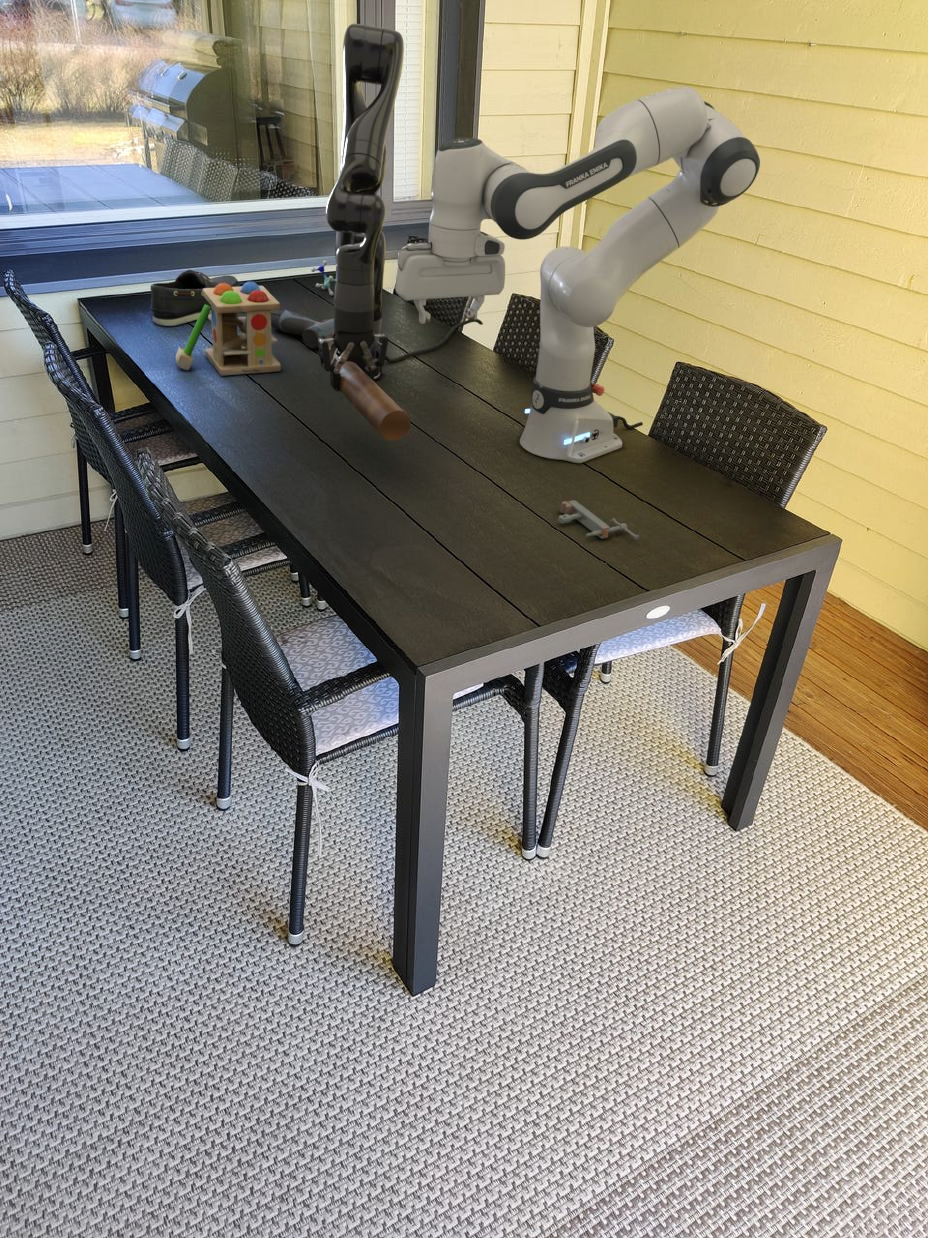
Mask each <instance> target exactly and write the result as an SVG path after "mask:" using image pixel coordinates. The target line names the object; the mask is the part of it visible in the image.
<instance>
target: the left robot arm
mask: <svg viewBox="0 0 928 1238" xmlns="http://www.w3.org/2000/svg"><path fill="white" fill-rule="evenodd" d="M404 56H405V44H404V38H403V35H402V34H401V32H399V31H397V30H394V29H390V28H386V27H381V26H380V27H379V26H374V25H367V24H361V23H351V24H349V25H348V26H347V28H346V30H345V33H344V37H343V44H342V101H343V102H342V103H343V104H342V106H343V107H342V108H343V110H342V126H341V127H342V129H341V139H340V154H339V155H340V157H339V175H338V178H337V180H336V182H335V184H334V186H333V188H332V190H331V193H330V194H329V198H328V199H327V203H326V207H325V217H326V221H327V224H328V226H329V227H330V228H331V229H332V230H333V231H335V232H336V237H335V247H334V250H335V251H334V257H335V258H334V259H335V279H336V281H335V284H334V292H333V293H334V294H333V296H334V297H333V319H334V334H333V336H332V338H328V339H323V338H319V339H318V346H319V347H318V353H319V360H320V366H321V367H322V369H324V371H325V372H327V373H328V372H330V374H329V375H330V376H329V377H330V380H329V381H330V382H329V383H330V386H331V388H332V389H333V390H334V391H335V392H340V373H339V372H340V370H341V368H342V365H343V364H345V362H346V361H350V362H353V363H355V364H356V365H357V366H358V367H359V368H361V369H362V370H363V371H364V372H365V373H366V374H367V375H368V376H369V377H370V378H371V379H372V380H373V381H374V382H376V381H378V380H380V378H381V375H382V374H383V367H384V365H385V362H387V363H390V364H394V363H398V362H401V361H403V360H405V359H408V358H411V357H415V356H418V355H422V354H427V353H429V352H432V351H434V350H437V349H439V348H440V347H441V346H443V345H444V344H446V342H447V341H448V339H449V338H450V337H451V335H452V334H453V333H454V332H455V331H456V330H457V329H458V328H461V327H463V326H465V325H468V324H471V323H477V324H478V325H480V326H481V325H482V326H483V325H484V323H483V321H482V320H480V319H479V318H477V320H468V319H466V320H464V321H461V322H459V323H457V324H455V325H453V326H452V328H450V330H449V331H448V332H447V334H446V335H445V336H444V338H443V339H441V340H440V341H439V342H438V343H436V344H434V345H433V346H430V347H427V348H424V349H419V350H415V351H411V352H407V353H405V354H403V355H400V356H398V357H395V358H390V357H389V356H388V355H387V350H388V344H389V338H388V337H387V336H386V335H385V334H384V333H383V332H382V323H383V292H384V291H383V288H384V274H385V264H386V263H385V262H386V251H387V250H386V249H387V247H386V244H387V243H386V237H385V234H384V232H383V231H382V230H383V227H384V224H385V220H386V216H387V215H386V214H387V208H386V204H385V201H384V199H383V198H382V197H381V195H380V194H378V192H380V191H379V190H380V189H381V188H382V187H383V183H384V182H385V177H386V169H387V155H388V150H387V144H386V143H387V142H386V138H387V133H388V130H389V127H390V122H391V118H392V114H393V111H394V107H395V104H396V99H397V95H398V91H399V86H400V82H401V78H402V74H403V73H402V71H403V66H404V58H405V57H404ZM362 83H365V84H370V85H371V84H372V85H377V86H378V85H379V86H380V88H379V91H378V92H377V94H376V95H375V97H374V99H373V100H372V102H371V103H370V104H369V105H367V103H366V100H365V96H364V93H363V88H362ZM333 345H334V346H335V347H336V348H335V351H334V353H333V358H332V360H331V356H330V351H331V350H332V346H333Z"/></svg>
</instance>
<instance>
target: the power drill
mask: <svg viewBox="0 0 928 1238" xmlns="http://www.w3.org/2000/svg"><path fill="white" fill-rule="evenodd" d="M271 328H274V329H276V330H278V331H281V332H284V333H288V334H290V335H296V336H300V337H302V341H303V343H304V344H305V346H306V347H308V348H309V349H316V348H319V346H318V339H319V338H323V339H328V338H332V336H333V334H334V318H331V319H324V320H322V321H320V322H319V321H316V320H314V319H312V318H309V317H306V316H304V315H302V314H300V313H297V312H293V311H291V310H288V309H283V308H280V310H271Z"/></svg>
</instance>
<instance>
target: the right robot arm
mask: <svg viewBox="0 0 928 1238" xmlns="http://www.w3.org/2000/svg"><path fill="white" fill-rule="evenodd" d="M434 158H435V160H434V165H433V170H432V177H431V178H432V179H431V191H430V196H431V197H430V198H431V203H432V209H431V214H430V216H429V224H428V225H429V226H428V241H427V242H418V243H414V242H410V243H406V245H405V246H402V247H401V248H400V250H399V251H398V253H397V272H396V277H395V278H396V279H395V285H394V287H395V289H394V290H395V293H396V294H397V295H398V297H400V298H401V299H402V300H404V301H407V302H408V301H413V303H414V305H415V307H416V310H417V312H418V322H419V324H420V325H427V324H430V323H431V313H429V312H428V311H426V310H425V308H424V306H426V304H427V300H437V299H452V298H453V299H454V298H467V297H468V298H469V297H471V298H472V299H473V302H472V303H471V305H470V307H467V308H465V319H466V320H477V319H478V311H479V310H480V309H481V307H482V306H483V304H484V302H485V297H486V296H498V295H500V294H501V293H502V292H503V290H504V289H505V281H506V261H505V258H504V257H503V256H502V255H503V254H504V252H505V249H506V248H505V247H506V244H505V243H504V242H503V241H501V240H500V239H499V238H497V237H494V236H493V235H491V234H489V233H486V232H484V231H481V227H482V222H483V221H484V220H492V221H493V222H494V223H495V224H496V225H497V226H498V227H499V229H500V230H501V231H502V232H503V233H504V234H505V235H506V236H508V237H510V238H512V239H515V240H521V241H523V240H524V241H525V240H530V239H534V238H536V237H538V236H539V235H541V234H543V232H544V231H546V230H547V229H548V228H549V227H550V226H551V225H552V224H553V223H554V222H555V221H556V220H557V219H558V218H559V217H560V216H561V215H563V214H564V213H565V212H567V211H569V210H570V209H572V208H574V207H576V206H578V205H580V204H582V203H584V202H586V201H587V200H590V199H592V198H593V197H596V196H597V195H600V194H601V193H603V192H605V191H607V190H609V189H611V188H612V187H615V186H616V185H618V184H620V183H621V182H623V181H624V180H626V179H628V178H630V177H633V176H636V175H637V174H641V173H642V172H644V171H645V172H646V171H647V170H649V169H652V168H654V167H656V166H659V165H660V164H663V163H664V162H665V163H666V162H667V161H668V160H671V159H673V161H674V162H675V164H676V165H677V166H678V168H679V171H678V172H677V174H676V176H675V177H674V178H673V180H672V181H671V182H669V183H668V184H666V185H664V186H663V187H661V188H659V189H658V190H656V191H655V192H653V193H651V195H649V196H647V197H646V198H645V199H644V200H642V201H641V202H639V203H638V204H637V205H635V206H634V207H633V208H631V209H630V210H629V211H627V212H626V213H624V214H623V215H622V216H620V217H619V218H617V219H616V220H615V221H613V222H612V223H611V225H610V226H609V228H608V230H607V231H606V233H605V235H604V236H603V237H602V238H601V240H600V241H599V242H598V243H597V244H596V245H595V246H594V247H593V248H592V249H591V251H589V252H588V253H587V252H586V251H584V250H582V249H581V248H578V247H574V246H567V245H563V246H558V247H555V248H553V249H551V250H550V251H549V252H548V253H547V254H546V255H545V257H544V258H543V260H542V262H541V264H540V268H539V277H540V296H539V297H540V301H539V302H540V303H539V321H540V322H539V325H540V327H539V328H540V331H539V332H540V335H539V338H540V339H539V347H538V348H539V349H538V357H537V364H536V372H535V373H536V374H535V376H534V377H533V381H532V386H531V393H530V395H531V396H530V397H531V399H530V400H531V401H530V402H531V405H530V407H529V408H526V409H524V414H528V416H527V419H526V422H525V426H524V428H523V432H522V434H521V436H520V438H519V444H520V446H521V447H522V448H523V449H524V450H525V451H527V452H528V453H531V454H532V455H536V456H539V457H542V458H546V459H551V460H560V461H561V460H562V461H567V462H570V463H575V464H582V463H586V462H587V461H590V460H593V459H595V458H598V457H601V456H603V455H606V454H608V453H612V452H614V451H617V450H618V449H621V448H622V447H623V441H622V439H621V438H620V437H619V436H618V434H616V433H615V432H614V429H615V428H617V427H618V423H619V421H621V422H622V424H623V426H624V428H625V429H627V430H633V429H636V428H638V427H639V428H640V427H642V426H643V424H644V422H642V421H640V422H636V423H634V424H631V425H630V424H628V422H627V420H626V418H625V417H623V416H620V415H615V414H613V413H611V412H609V411H608V410H606V409H605V408H604V407H603V406H602V405H601V404H600V403H598V402H597V400H596V399H595V398H594V394H595V395H596V396H597V397H602V396H603V395H604V393H605V387H604V386H602V385H600V384H599V383H594V384H593V382H592V381H591V378H592V377H591V376H592V371H593V364H594V359H595V352H596V342H595V333H594V332H595V329H594V328H595V327H598V326H600V325H602V324H604V323H605V322H606V321H608V319H610V318H611V316H612V314H613V313H614V311H615V308H616V306H617V303H618V302H619V301H620V299H621V298H622V297H624V295H625V294H626V293H627V292H628V291H629V290H630V289H631V287H633V285H635V283H636V282H637V281H638V280H639V279H640V278H641V277H642V276H643V275H645V274H646V273H647V272H648V271H650V270H651V269H652V268H654V267H655V266H657V265H658V264H659V263H661V262H662V261H664V259H666V258H667V257H669V256H670V255H672V254H673V253H675V251H678V249H680V248H681V247H682V246H684V245H685V244H687V243H688V242H689V241H690V240H692V239H693V238H694V237H695V236H697V234H699V233H700V232H701V231H702V230H703V229H704V228H705V227H706V226H707V225H708V224H709V223H710V222H711V221H712V220H713V219H714V218H715V217H716V215H717V213H718V211H719V208H720V207H722V206H724V205H726V204H729V203H730V202H731V201H734V200H736V199H738V198H739V197H740V196H741V195H743V194H744V193H746V191H748V190H749V188H750V187H751V186H752V185H753V183H754V182H755V180H756V178H757V176H758V173H759V171H760V167H761V159H760V156H759V153H758V151H757V149H756V147H755V145H754V143H753V142H752V141H751V140H750V139H749V138H746V136H745V134H743V132H742V131H741V129H740V128H739V127H738V126H737V125H736V124H735V123H734V122H733V121H732V120H730V119H729V118H726V116H725V115H723V114H722V113H721V112H719V111H718V110H716V109H715V107H714V106H713V105H711V104H710V103H709V102H707V101H705V100H704V99H703V97H702V96H701V94H700V93H699V92H698V91H697V90H695V89H694V88H692V87H689V86H678V87H672V88H668V89H664V90H663V89H662V90H659V91H657V92H653V93H650V94H647V95H645V96H642V97H639V98H637V99H635V100H632V101H629V102H627V103H625V104H623V105H620V106H619V107H618V108H617V107H616V109H614V110H612V111H611V112H610V113H608V114H607V115H606V116H604V117H603V118H601V120H600V122H599V123H598V126H597V128H596V131H595V134H594V147H593V149H592V150H590V152H588V153H586V154H584V155H583V156H581V157H579V158H577V159H575V160H573V161H571V162H569V163H567V164H565V165H563V166H561V167H559V168H557V169H554V170H553V171H550V172H545V173H535V172H531V171H529V170H527V169H526V168H525V167H523V166H521V165H520V164H518V163H517V162H514V161H512V160H509V159H507V158H506V157H503V156H502V155H500V154H499V153H497V152H495V151H494V150H492V149H491V148H489V147H488V145H486V144H485V143H484V141H483V140H482V139H479V138H476V137H457V138H452V139H449V140H447V141H444V142H442V144H441V145H439V147H438V149H437V151H436V153H435V157H434ZM631 428H632V429H631Z"/></svg>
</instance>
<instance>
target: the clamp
mask: <svg viewBox="0 0 928 1238" xmlns="http://www.w3.org/2000/svg"><path fill="white" fill-rule="evenodd" d="M559 513H561V514H562V515H559V516H558V523H560V524H563V525H564V524H568V523H571V522H572V521H575V520H576V521H578V522H579V523H580V524H582V525H583V526H584V527H585V528H587V529H588V530H590V532H588V533H586V534H585V537H586V538H587V537H595V536H597V537H598V538H599V539H602V540H603V539H607V538H609V533H613V532H617V531H618V532H626V533H627V534H628V535H630V536H631V537H632V538H633V539H634V540H635V541H638V540H639V539H640V535H639V534H635V533H634V532H632V531H631V530H630V529H628V525H627V523H625V522H624V523H620V522H618V521H617V519H616V518H612V519H611V520H610V522H611V524H614V525H616V526H613V527H611V526H609V525H608V524H607V523H606V522H604V521H603V520H602V519H601V518H599V517H598V516H597V515H595V514H594V513H592V512H591V511H590V510H589V509H588V508H586V507H585V506H583V505H582V504H581V503H580V502H578V501H577V500H573V499H572V500H569V501H567V500H565V501H562V502H561V503H560V510H559Z"/></svg>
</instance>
